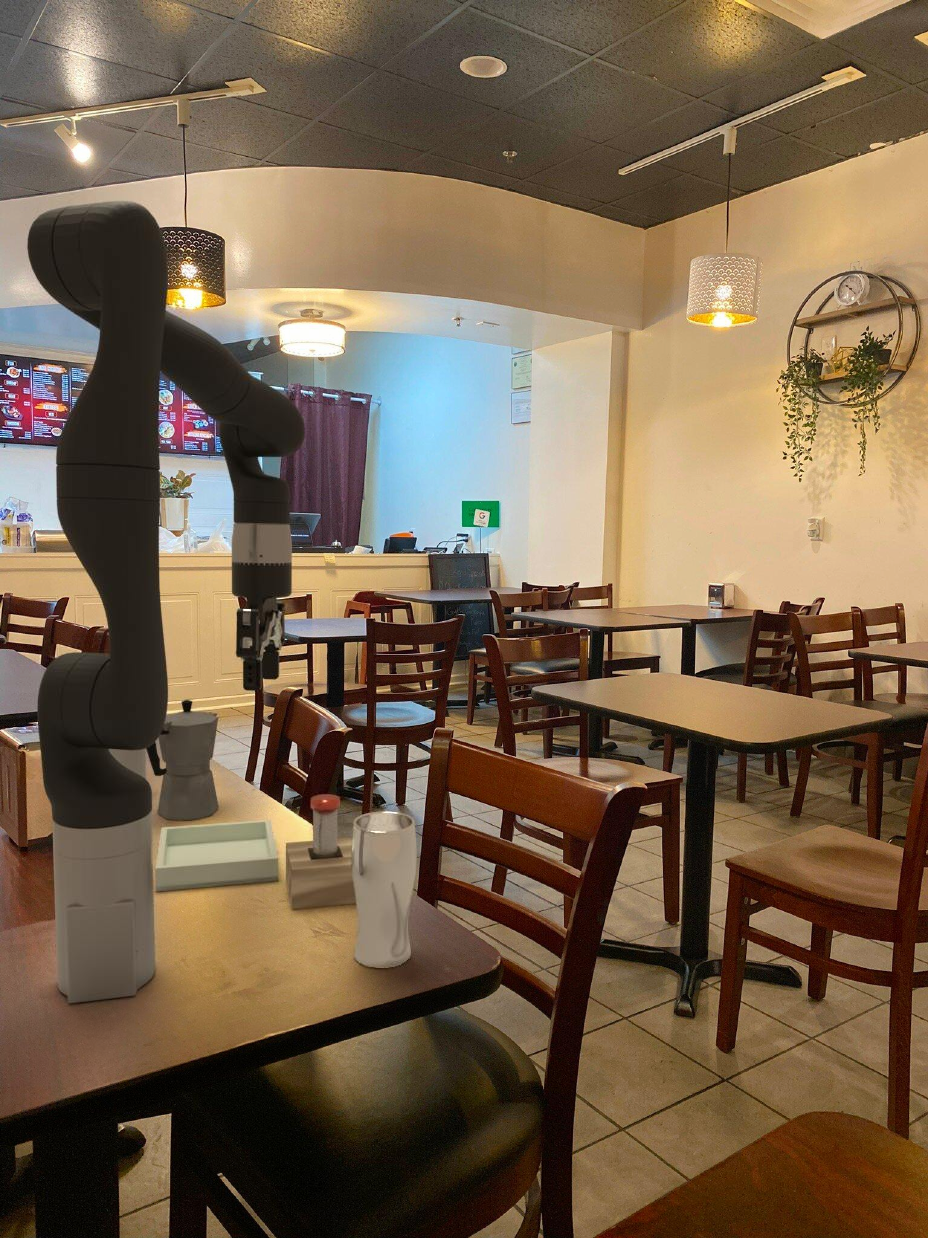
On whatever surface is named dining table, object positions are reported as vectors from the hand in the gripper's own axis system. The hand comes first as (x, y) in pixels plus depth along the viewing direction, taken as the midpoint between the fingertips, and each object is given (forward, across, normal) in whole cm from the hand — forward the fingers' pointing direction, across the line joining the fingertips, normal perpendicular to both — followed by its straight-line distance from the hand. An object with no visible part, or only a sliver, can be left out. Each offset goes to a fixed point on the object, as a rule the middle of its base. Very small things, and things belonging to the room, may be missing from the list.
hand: (261, 684), depth 115 cm
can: (+25, +28, +31) cm, 49 cm away
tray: (+25, +2, +7) cm, 26 cm away
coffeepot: (+25, +21, +18) cm, 38 cm away
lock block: (+25, -5, -10) cm, 27 cm away
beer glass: (+26, -21, -19) cm, 38 cm away
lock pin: (+25, -5, -10) cm, 27 cm away
